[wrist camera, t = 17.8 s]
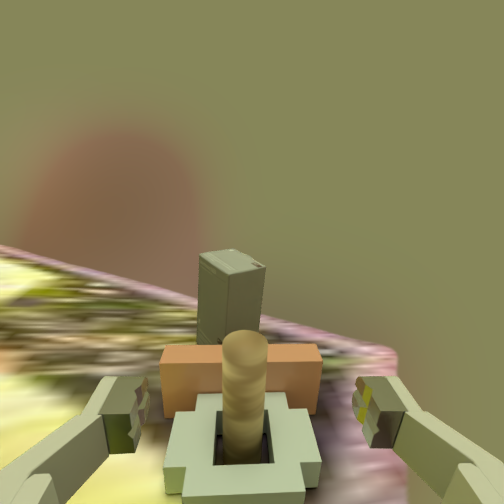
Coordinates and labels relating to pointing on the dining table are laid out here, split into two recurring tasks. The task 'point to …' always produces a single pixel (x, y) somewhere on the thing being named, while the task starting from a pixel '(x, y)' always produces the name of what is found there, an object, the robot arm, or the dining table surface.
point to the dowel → (243, 396)
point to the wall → (210, 375)
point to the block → (248, 475)
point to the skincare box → (228, 295)
